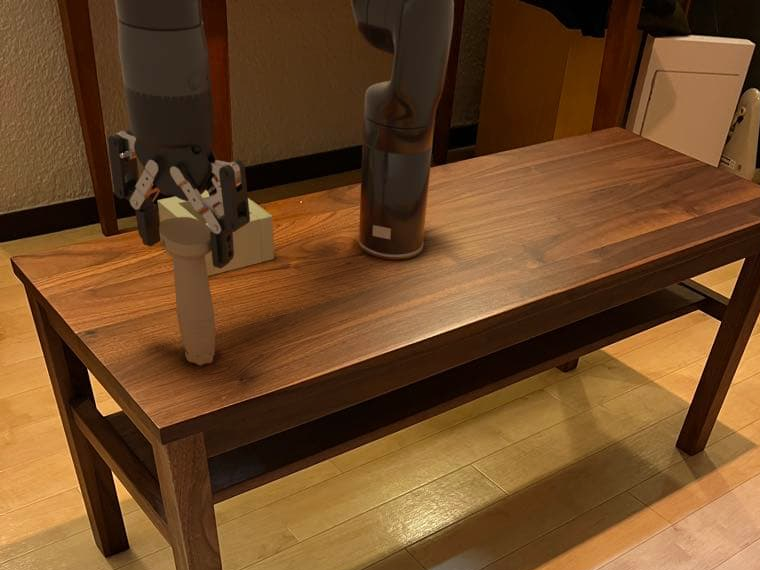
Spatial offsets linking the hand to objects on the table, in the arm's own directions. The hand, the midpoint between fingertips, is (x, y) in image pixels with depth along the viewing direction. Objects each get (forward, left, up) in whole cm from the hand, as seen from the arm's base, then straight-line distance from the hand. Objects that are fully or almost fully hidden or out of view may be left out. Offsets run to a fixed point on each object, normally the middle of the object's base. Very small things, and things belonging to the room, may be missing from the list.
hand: (186, 253), depth 82 cm
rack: (-23, -13, -13) cm, 29 cm away
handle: (0, 0, -13) cm, 13 cm away
